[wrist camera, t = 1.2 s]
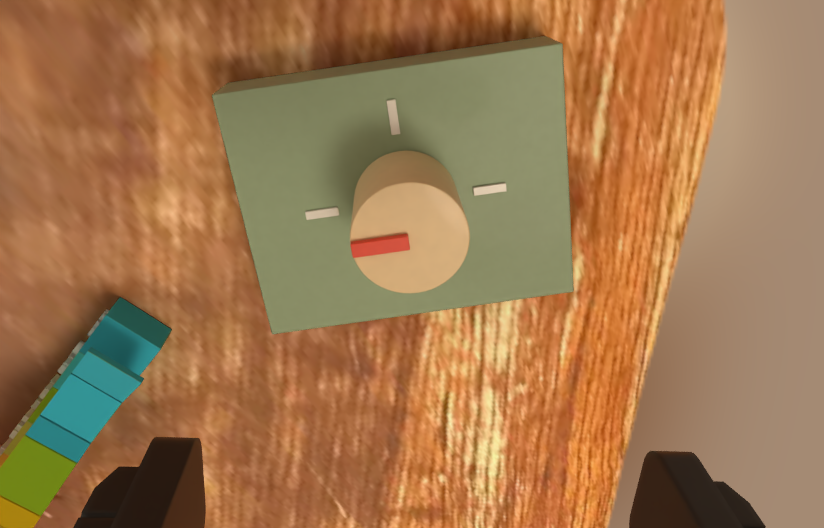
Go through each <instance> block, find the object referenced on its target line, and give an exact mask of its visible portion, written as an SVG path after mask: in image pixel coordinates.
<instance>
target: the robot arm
mask: <svg viewBox="0 0 824 528" xmlns="http://www.w3.org/2000/svg"><path fill="white" fill-rule="evenodd" d="M205 510H206V507H205V490H204V475H203V460H202V447H201V442H200V439H199V438H175V437H155V438H154V439H153V440H152V442H151V443H150V445H149V448H148V450H147V452H146V454H145V456H144V458H143V460H142V462H141V464H140V466H139V467H118V468H117V469H116V470H115V471H114V472H113V473H111V474H110V475H109V476H108V477H107V478H106V479H104V480H103V481H102V482H101V483H100V484H99V485H98V486H96V487H95V489H94V491H93V492H92V494H91V496H90V498H89V500H88V502H87V503H86V505H85V507H84V509H83V511H82V514H81V518H78V520H77V522H76V524H75V526H74V527H73V528H204V525H205ZM629 528H765V525H764V524H763V522H762V521H761V519H760V518H759V516H758V515H757V514H756V512H755V511H754V509H753V508H752V507H751V505H750V503H749V502H748V501H746V500H745V499H744V498H743V497H741V496H740V495H739V494H738V493H737V492H735V491H734V490H733V489H732V488H730V487H729V486H728V485H727V484H726V483H724V482H713V480H712V479H711V477H710V476H709V474H708V473H707V471H706V469H705V468H704V466H703V465H702V463H701V462H700V460H699V459H698V458H697V456H696V455H695V454H694V453H692V452H669V451H650V452H649V453H647V455H646V457H645V459H644V462H643V466H642V470H641V475H640V478H639V482H638V487H637V490H636V494H635V498H634V502H633V506H632V510H631V514H630V523H629Z"/></svg>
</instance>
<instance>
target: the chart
mask: <svg viewBox="0 0 824 528" xmlns="http://www.w3.org/2000/svg"><path fill="white" fill-rule="evenodd" d="M171 331H172V329H170V328H168V327H167V326H165V325H164V324H162V323H161V322H159V321H157V320H156V319H154V318H153V317H151V316H150V315H148V314H146V313H145V312H143V311H142V310H140V309H138V308H137V307H135V306H134V305H132V304H131V303H129V302H127V301H126V300H124V299H123V298H121V297H120V298H119V299H118V300H117V301H116V303H115V304H114V305H113V307H112V308H111V309H110V310H108V309H106V310H105V312H104V313H103V314H102V315H101V317H100V318H99V319H98V321H97V322H96V323H95V325H94V326H93V327H92V329H91V330H90V331H89V333H88V334H87V335H88V336H90V337H89V338H88V340H87V341H86V342H83V341H80V342H79V343H78V344H77V346H76V347H75V348H74V349H73V351H72V353H71V354H70V355H69V356H68V357H69V358H68V359H67V360H66V361H65V362H64V363H63V364H62V366H61V367H60V368H59V370H58V371H57V372H59V373H60V374H61V376H60V375H58V374H56V375H55V376H54V377H53V378H52V379H51V380H50V383H49V384H48V385H47V386H46V387H45V389H44V390H43V391H42V393H41V394H40V395H39V398H37V399H36V401H35V402H34V404H33V405H32V406H31V407H32V408H31V409H30V410H29V411H28V412H27V413H26V414H25V415H24V417H23V418H22V419H21V421H20V422H19V424H18V425H17V426H16V427H15V429H14V430H13V431H12V433H11V434H10V435H9V437H10V438H9V439H8V440H7V441H6V442H5V443H4V444H3V445H2V446H1V448H0V528H33V527H34V526H35V524H36V523H37V521H38V520H39V519H40V517H41V515H42V514H43V512H44V511H45V510H46V508H47V507H48V505H49V504H50V502H51V501H52V499H53V498H54V496H55V495H56V493H57V492H58V490H59V489H60V487H61V486H62V485H63V483H64V482H65V480H66V479H67V477H68V476H69V474H70V473H71V471H72V470H73V468H74V467H75V465H76V464H77V463H78V461H79V460H80V458H81V457H82V456H83V454H84V453H85V451H86V450H87V448H88V447H89V445H90V444H91V442H92V441H93V440H94V439H95V437H96V436H97V435H98V433H99V432H100V431H101V429H102V428H103V427H104V426H105V424H106V423H107V422H108V420H109V419H110V418H111V416H112V415H113V414H114V413H115V411H116V410H117V409H118V407H119V406H120V405H121V404H122V402H123V401H124V400H125V399H126V398H127V397H128V396H129V395H130V394H131V393H132V392H133V391H134V390H135V389H136V388H137V387H138V386H139V385H140V384H141V383H142V381H143V380H144V378H142V377H141V376H140V375H141V373H142V372H143V371H144V370H145V368H146V367H147V366H148V365H149V363H150V362H151V361H152V360H153V358H154V357H155V356H156V355H157V353H158V352H159V351H160V350H161V348H162V346H163V345H164V343H165V341H166V339H167V338H168V336H169V334H170V332H171ZM34 409H35V410H34Z"/></svg>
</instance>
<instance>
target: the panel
mask: <svg viewBox="0 0 824 528" xmlns="http://www.w3.org/2000/svg"><path fill="white" fill-rule="evenodd" d="M212 98H213V102H214V106H215V110H216V114H217V118H218V122H219V126H220V130H221V134H222V138H223V142H224V146H225V150H226V154H227V158H228V162H229V166H230V169H231V173H232V177H233V181H234V185H235V189H236V193H237V197H238V201H239V205H240V209H241V213H242V217H243V221H244V225H245V229H246V233H247V237H248V241H249V245H250V249H251V253H252V257H253V261H254V265H255V268H256V272H257V276H258V280H259V284H260V288H261V292H262V296H263V300H264V304H265V308H266V312H267V316H268V320H269V324H270V328H271V332H272V334H278V333H285V332H292V331H299V330H306V329H313V328H320V327H327V326H334V325H342V324H349V323H356V322H363V321H370V320H377V319H384V318H391V317H398V316H405V315H412V314H419V313H426V312H433V311H440V310H447V309H454V308H461V307H469V306H476V305H483V304H490V303H497V302H504V301H511V300H518V299H525V298H532V297H539V296H546V295H553V294H560V293H567V292H573V290H574V289H573V267H572V244H571V222H570V200H569V177H568V155H567V133H566V111H565V88H564V66H563V44H562V43H560V42H558V41H555V40H553V39H551V38H548V37H546V36H542V37H535V38H528V39H522V40H515V41H508V42H501V43H494V44H488V45H481V46H474V47H467V48H461V49H454V50H447V51H440V52H433V53H427V54H420V55H413V56H406V57H400V58H393V59H386V60H379V61H372V62H366V63H359V64H352V65H345V66H339V67H332V68H325V69H318V70H311V71H305V72H298V73H291V74H284V75H278V76H271V77H264V78H257V79H250V80H244V81H237V82H230V83H227V84H226V85H224V86H223V87H222V88H220V89H219V90H218V91H217V92H215V93H214V94H213V95H212ZM397 151H416V152H420V153H423V154H426V155H428V156H431V157H433V158H434V159H436V160H437V161H438V162H440V163H441V164H442V165H443V166H444V167H445V168H446V169H447V170H448V172H449V173H450V175H451V177H452V179H453V181H454V183H455V186H456V189H457V192H458V195H459V198H460V201H461V204H462V207H463V209H464V212H465V215H466V218H467V221H468V225H469V230H470V242H469V248H468V252H467V255H466V257H465V260H464V262H463V263H462V265H461V267H460V268H459V269H458V271H457V272H456V273H455V274H454V275H453V276H452V277H451V278H450V279H449V280H447V281H446V282H445V283H443V284H441V285H440V286H438V287H436V288H434V289H431V290H428V291H425V292H420V293H399V292H394V291H390V290H387V289H385V288H382V287H380V286H379V285H377V284H375V283H374V282H372V281H371V280H370V279H368V278H367V277H366V276H365V275H364V274H363V272H362V271H361V270H360V269H359V267H358V265H357V264H356V262H355V260H354V258H353V256H352V251H351V246H350V229H351V220H352V211H353V202H354V194H355V189H356V185H357V183H358V180H359V178H360V176H361V175H362V173H363V172H364V171H365V169H366V168H367V167H368V166H369V165H370V164H371V163H372V162H374V161H375V160H377V159H378V158H380V157H382V156H384V155H386V154H389V153H392V152H397Z"/></svg>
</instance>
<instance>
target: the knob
mask: <svg viewBox="0 0 824 528" xmlns="http://www.w3.org/2000/svg"><path fill="white" fill-rule="evenodd" d="M469 242H470V230H469V225H468V221H467V218H466V215H465V212H464V209H463V207H462V204H461V201H460V198H459V195H458V192H457V189H456V186H455V183H454V181H453V179H452V177H451V175H450V173H449V172H448V170H447V169H446V168H445V167H444V166H443V165H442V164H441V163H440V162H438V161H437V160H436V159H434V158H433V157H431V156H428V155H426V154H423V153H420V152H416V151H397V152H392V153H389V154H386V155H384V156H382V157H380V158H378V159H377V160H375V161H374V162H372V163H371V164H370V165H369V166H368V167H367V168H366V169H365V171H364V172H363V173H362V175H361V176H360V178H359V180H358V183H357V185H356V189H355V194H354V202H353V211H352V220H351V229H350V246H351V251H352V256H353V258H354V260H355V262H356V264H357V265H358V267H359V269H360V270H361V271H362V272H363V274H364V275H365V276H366V277H367V278H368V279H370V280H371V281H372V282H374V283H375V284H377V285H379V286H380V287H382V288H385V289H387V290H390V291H394V292H399V293H420V292H425V291H428V290H431V289H434V288H436V287H438V286H440V285H441V284H443V283H445V282H446V281H447V280H449V279H450V278H451V277H452V276H453V275H454V274H455V273H456V272H457V271H458V269H459V268H460V267H461V265H462V263H463V262H464V260H465V257H466V255H467V252H468V248H469Z"/></svg>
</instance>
